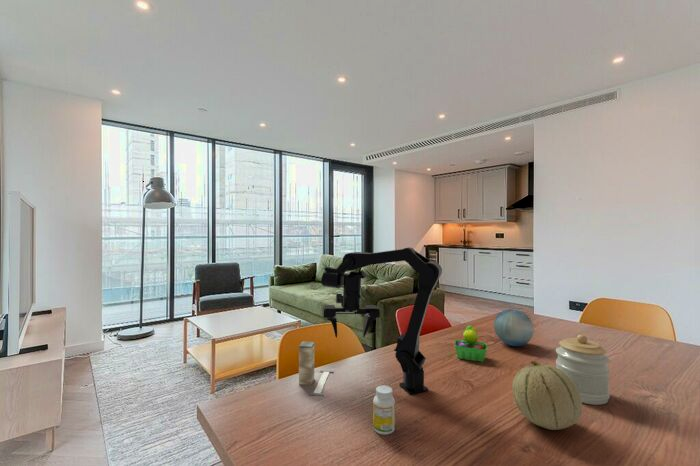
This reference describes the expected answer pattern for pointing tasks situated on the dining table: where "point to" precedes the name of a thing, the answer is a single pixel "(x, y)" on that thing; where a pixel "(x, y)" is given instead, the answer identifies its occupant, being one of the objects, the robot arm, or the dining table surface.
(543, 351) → the dining table surface
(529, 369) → the cantaloupe
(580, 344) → the jar
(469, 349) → the fruit basket
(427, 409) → the dining table surface
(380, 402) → the supplement bottle
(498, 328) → the decorative ball
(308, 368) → the beige tall block
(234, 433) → the dining table surface
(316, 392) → the tape line
